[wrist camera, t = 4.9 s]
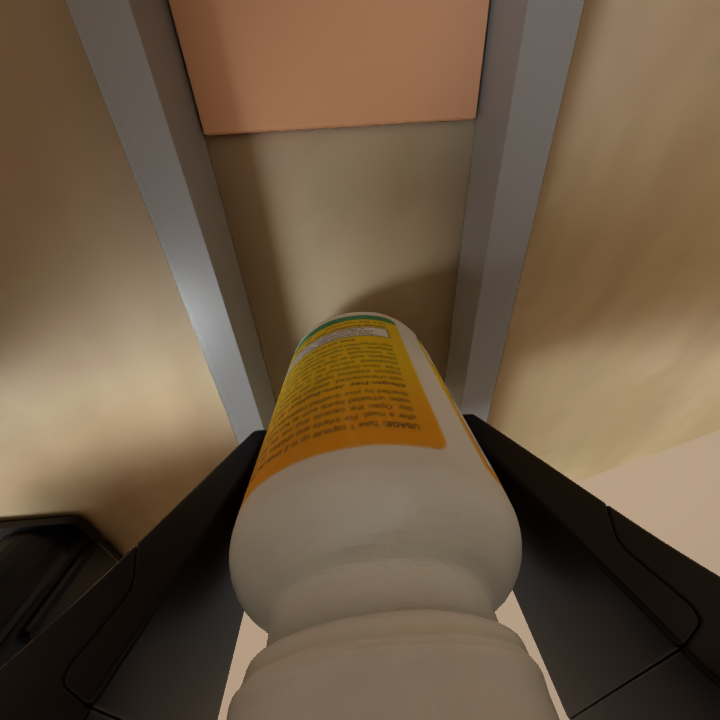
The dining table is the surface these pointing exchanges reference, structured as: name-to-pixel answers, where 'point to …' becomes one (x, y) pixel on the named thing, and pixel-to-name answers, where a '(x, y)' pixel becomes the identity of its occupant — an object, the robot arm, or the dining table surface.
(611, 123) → the dining table surface
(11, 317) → the dining table surface
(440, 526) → the supplement bottle
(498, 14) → the guide channel
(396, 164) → the dining table surface
